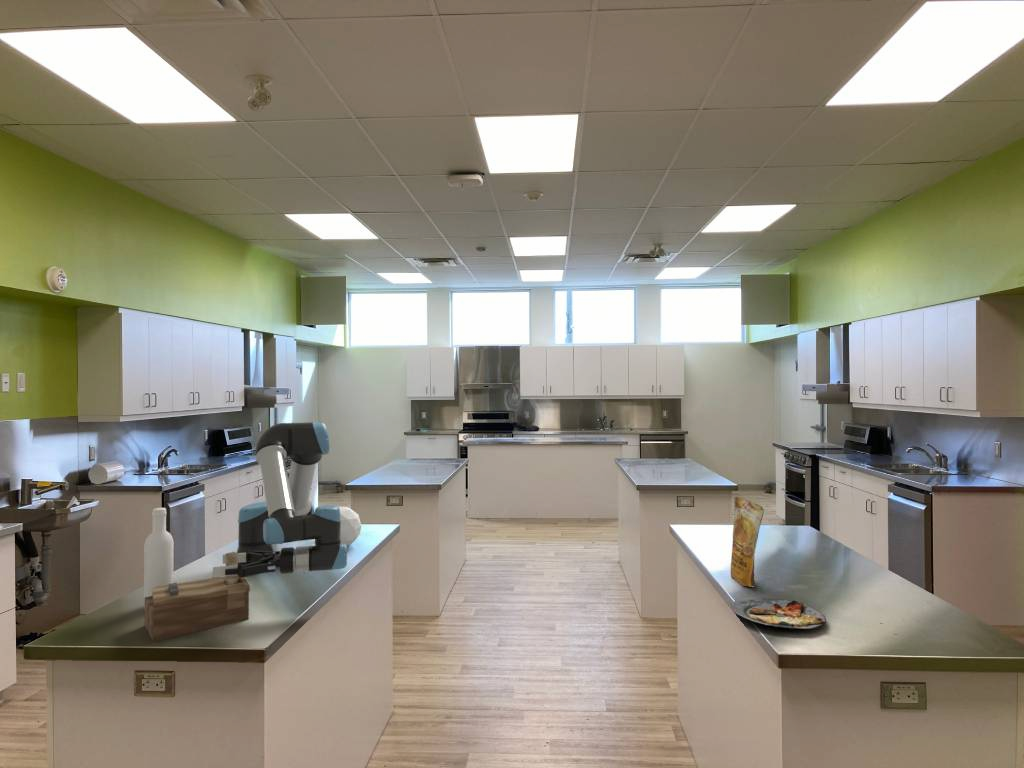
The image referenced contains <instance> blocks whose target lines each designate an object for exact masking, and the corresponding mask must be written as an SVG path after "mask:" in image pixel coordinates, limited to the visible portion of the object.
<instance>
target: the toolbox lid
mask: <svg viewBox="0 0 1024 768" xmlns="http://www.w3.org/2000/svg"><path fill="white" fill-rule="evenodd" d="M250 589H251V586H250V584H249V582H248V580H247V579H246V577H242V578H239V576H238V583H236V584H230V585H226V576H224V577H212V578H204V579H200V580H194V581H193V580H192V581H185V582H180V583H178V582H173V583H171V584H169V585H166V586H159V587H153V588H152V596H153V607H160V606H166V605H172V604H178V603H184V602H190V601H196V600H201V599H207V598H213V597H219V596H225V595H231V594H237V593H243V592H249V593H250V592H251V590H250Z"/></svg>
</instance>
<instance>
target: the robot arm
mask: <svg viewBox="0 0 1024 768" xmlns="http://www.w3.org/2000/svg"><path fill="white" fill-rule="evenodd" d="M254 449H255V450H254V454H255V460H256V462H257V463H258V464H259V465H260V470H261V476H262V477H261V478H262V483H263V489H264V496H265V501H260V502H259V501H258V502H254V503H250V504H247V505H244V506H242V507H241V508H240V509H239V511H238V519H237V522H238V536H237V537H238V538H237V539H238V545H237V546H238V547H237V549H236V552H237V553H238V565H234V566H226V554H227V553H224V554H222V564H225V565H223V566H221V565H220V566H213V567H212V578H218V577H224V576H237V575H238V576H239V578H242V577H245V578H247V577H252V576H257V575H261V574H265V573H275V572H276V569H277V568H279V571H280V574H283V575H284V574H293V573H294V571H295V573H302V574H306V573H307V572H317V571H320V572H321V571H334V570H342V569H345V568H346V567H347V564H348V546H347V545H346V544H342V543H341V541H340V525H341V519H340V509H339V507H340V506H337V505H331V504H330V505H329V504H328V505H320V506H317V507H315V506H314V504H313V502H311V500H310V495H311V491H312V485H313V480H314V476H315V470H316V466H317V464H318V463H319V462H320V461H321V460H322V458H323V456H326V455H328V454H330V453H329V452H330V438H329V431H328V428H327V425H326V424H325V423H324V422H320V421H319V422H316V421H312V422H310V421H308V422H281V423H280V422H279V423H276V424H274V425H272V426H270V427H268V428H267V429H266V430H264V432H263V433H262V434H261V436H260V437H259V439H258V440H257V442H256V446H255V448H254ZM287 457H288V458H289V460H290V461H291V463H290V468H289V473H288V470H287V465H286V461H285V460H286V459H287ZM312 540H314V544H315V545H305V546H296V547H293V546H292V547H283V548H281V549H280V550H278V551H275V550H274V547H273V545H282V544H287V543H294V542H302V541H312Z"/></svg>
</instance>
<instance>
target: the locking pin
mask: <svg viewBox="0 0 1024 768" xmlns="http://www.w3.org/2000/svg"><path fill="white" fill-rule="evenodd" d="M225 554H226V564H225V566H234V565H238V553H237V551H232V552H228V553H225ZM236 583H238V575H237V576H226V585H230V584H236Z"/></svg>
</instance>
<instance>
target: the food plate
mask: <svg viewBox="0 0 1024 768" xmlns="http://www.w3.org/2000/svg"><path fill="white" fill-rule="evenodd" d="M761 604H764V605H767V604H772V608H773V610H774V611H773V610H768V609H758V608H752V607H755V606H762V605H761ZM780 605H781V606H784V607H781V606H780ZM731 607H732V610H733V611H734V613H735V614H736V615H738V616H741V618H744V619H747V620H749V621H751V622H752V623H758V624H762V625H765V626H773V627H775V628H779V627H780V628H785V629H788V628H789V629H790V630H792V629H801V630H805V629H806V630H814V629H815V630H816V629H818V628H819V627H820V628H821V627H823V626H825V624H826V623H827V618H826V616H825V615H824V614H823V613H822V612H821V611H819V610H818V609H815V608H813V607H811V606H809V605H806V604H804V602H801V601H800V602H798V601H796V600H792V601H790V600H787V599H786V600H785V599H780V598H779V599H778V598H773V597H772V598H770V597H756V596H753V597H752V596H751V597H742V598H741V599H737V600H734V601H733V602H732V604H731ZM750 608H752V609H751V610H749V613H747V611H748V609H750ZM777 613H780V614H782V615H783V616H788V617H777V616H757V615H776V614H777ZM802 613H804V614H807V615H803V616H802V617H801V614H802ZM748 614H749V615H748ZM789 616H791V617H789ZM796 626H797V627H796Z"/></svg>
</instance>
